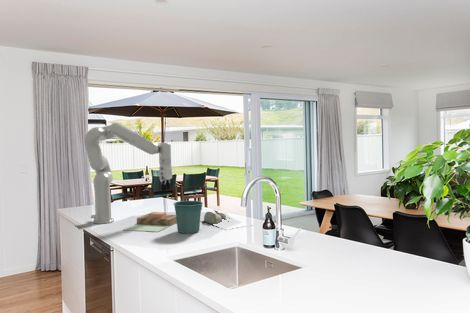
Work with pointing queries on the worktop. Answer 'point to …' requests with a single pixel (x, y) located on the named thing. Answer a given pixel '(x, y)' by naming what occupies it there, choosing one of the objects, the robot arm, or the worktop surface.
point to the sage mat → (146, 228)
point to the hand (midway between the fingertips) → (165, 189)
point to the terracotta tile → (157, 214)
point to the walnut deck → (157, 220)
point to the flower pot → (188, 216)
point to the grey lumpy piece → (213, 218)
